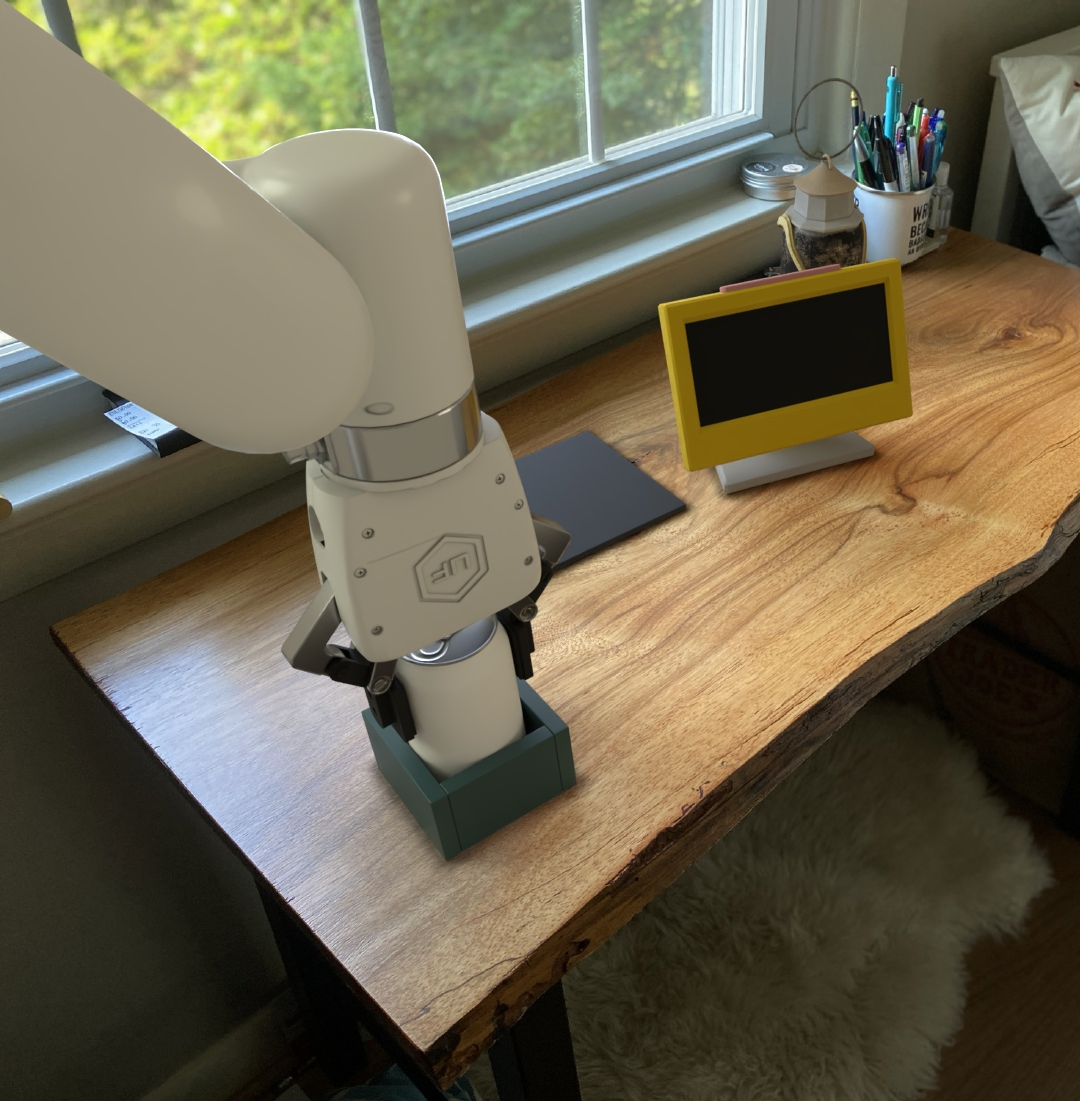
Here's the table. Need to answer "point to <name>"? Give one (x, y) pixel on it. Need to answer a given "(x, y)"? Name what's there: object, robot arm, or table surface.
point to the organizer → (480, 778)
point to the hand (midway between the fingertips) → (458, 693)
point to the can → (462, 697)
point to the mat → (592, 494)
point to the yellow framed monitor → (787, 370)
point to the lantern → (823, 214)
